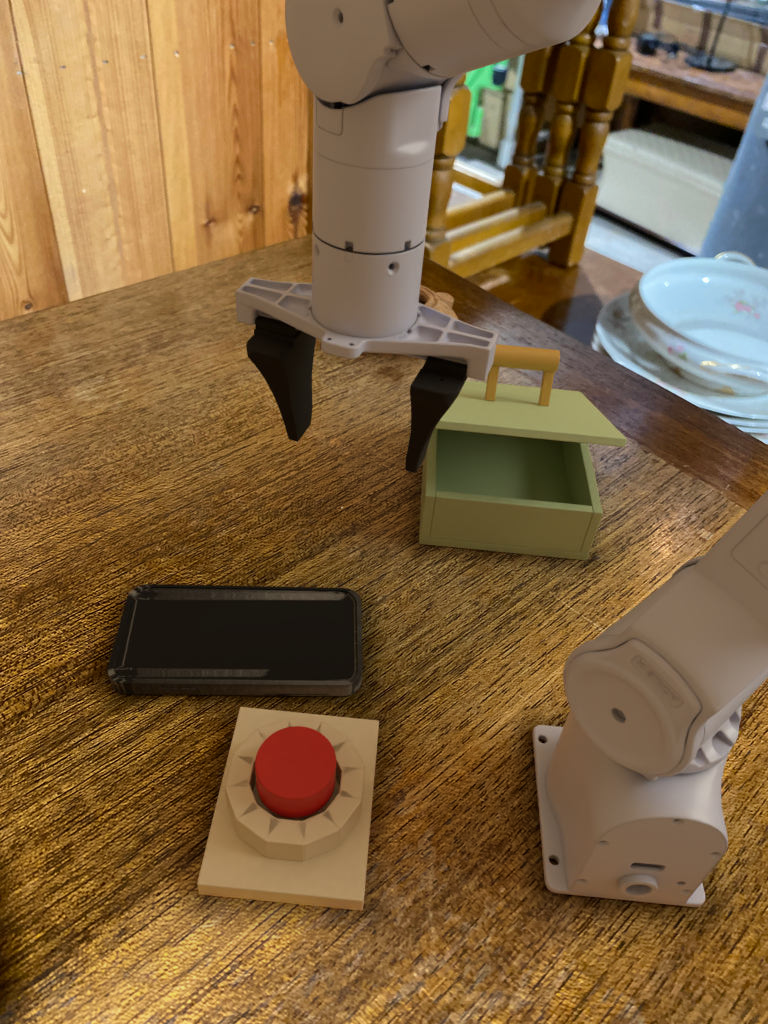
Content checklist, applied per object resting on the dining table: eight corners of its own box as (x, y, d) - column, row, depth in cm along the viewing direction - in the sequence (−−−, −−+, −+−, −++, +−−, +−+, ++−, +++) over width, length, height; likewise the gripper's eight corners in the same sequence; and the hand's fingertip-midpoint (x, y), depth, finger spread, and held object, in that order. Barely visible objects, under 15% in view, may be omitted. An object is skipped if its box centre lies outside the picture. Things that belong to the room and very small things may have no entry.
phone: (130, 583, 51) (360, 587, 52) (133, 595, 51) (360, 599, 53) (102, 684, 45) (363, 686, 46) (106, 696, 46) (362, 698, 47)
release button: (330, 822, 38) (331, 802, 37) (249, 814, 38) (247, 794, 37) (339, 750, 41) (340, 729, 40) (264, 742, 41) (263, 721, 40)
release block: (362, 911, 38) (365, 885, 36) (198, 894, 38) (192, 867, 36) (377, 731, 45) (381, 701, 43) (241, 717, 45) (238, 687, 43)
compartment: (587, 560, 57) (603, 513, 54) (418, 544, 57) (425, 495, 54) (566, 443, 68) (578, 398, 65) (424, 429, 68) (430, 384, 65)
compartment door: (625, 447, 50) (640, 375, 49) (434, 428, 50) (443, 356, 49) (579, 398, 65) (589, 341, 63) (430, 383, 65) (436, 326, 63)
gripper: (200, 231, 38) (220, 453, 47) (491, 294, 35) (452, 518, 44) (263, 185, 43) (270, 394, 52) (522, 237, 40) (481, 449, 49)
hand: (356, 447), depth 48 cm, fingers open, 7 cm apart
